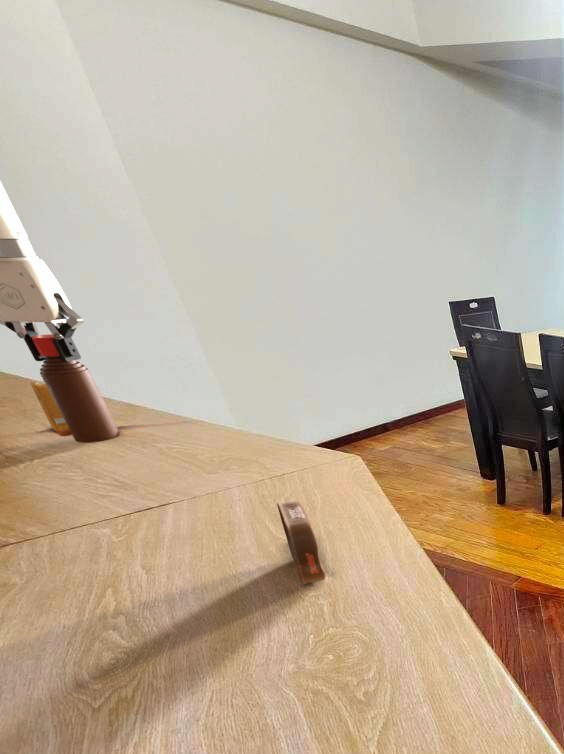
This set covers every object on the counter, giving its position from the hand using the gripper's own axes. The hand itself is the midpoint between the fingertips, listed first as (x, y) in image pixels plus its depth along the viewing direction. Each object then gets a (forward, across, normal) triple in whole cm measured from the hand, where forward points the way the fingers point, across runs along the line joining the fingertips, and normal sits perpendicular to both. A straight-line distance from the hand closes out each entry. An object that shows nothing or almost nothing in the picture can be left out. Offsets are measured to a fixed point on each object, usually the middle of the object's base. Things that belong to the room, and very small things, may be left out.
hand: (58, 358), depth 110 cm
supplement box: (+15, -7, +2) cm, 17 cm away
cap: (-1, 0, 0) cm, 1 cm away
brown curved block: (+15, +65, -53) cm, 85 cm away
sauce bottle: (+15, 0, 0) cm, 15 cm away
